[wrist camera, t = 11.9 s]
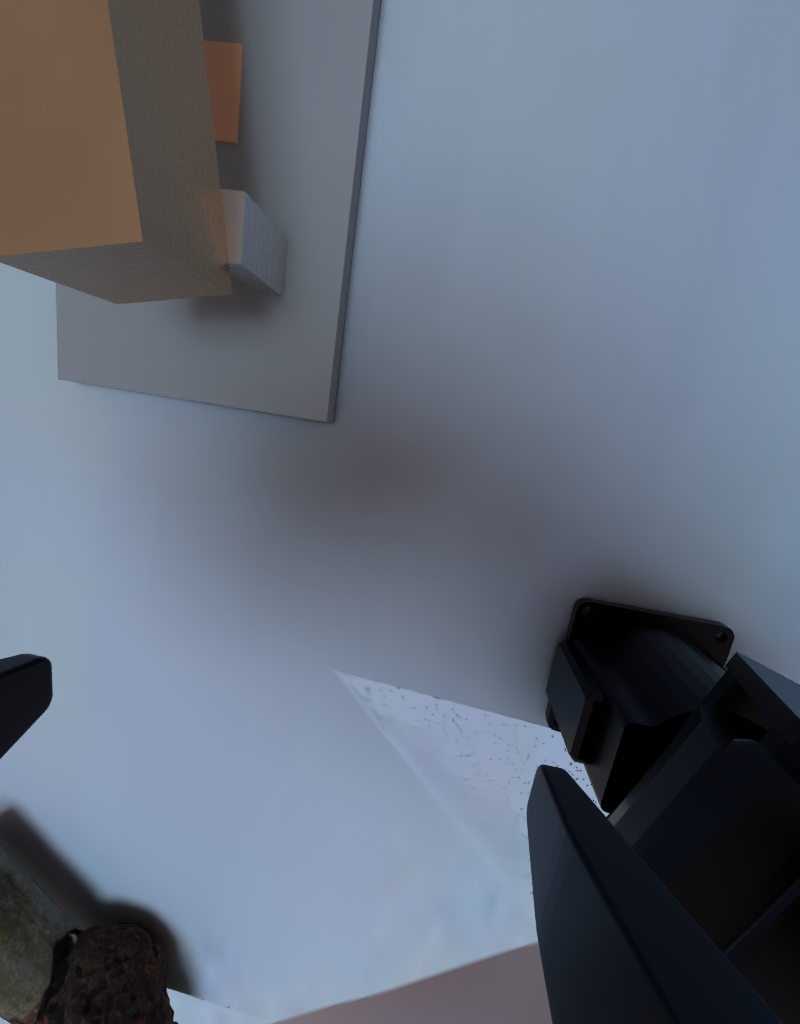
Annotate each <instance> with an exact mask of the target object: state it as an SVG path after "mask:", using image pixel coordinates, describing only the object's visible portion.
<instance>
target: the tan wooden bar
mask: <svg viewBox="0 0 800 1024" xmlns="http://www.w3.org/2000/svg"><path fill="white" fill-rule="evenodd" d="M0 262H1V263H3V264H6V265H9V266H12V267H14V268H17V269H20V270H23V271H26V272H28V273H31V274H34V275H37V276H39V277H42V278H45V279H48V280H51V281H53V282H56V283H59V284H62V285H64V286H67V287H70V288H73V289H76V290H78V291H81V292H84V293H87V294H90V295H92V296H95V297H98V298H101V299H103V300H106V301H109V302H112V303H115V304H127V303H139V302H151V301H163V300H175V299H187V298H199V297H210V296H222V295H232V287H231V278H230V269H229V261H228V252H227V243H226V234H225V225H224V216H223V207H222V198H221V189H220V180H219V171H218V162H217V153H216V144H215V136H214V127H213V118H212V109H211V100H210V91H209V82H208V73H207V64H206V55H205V46H204V37H203V28H202V19H201V11H200V2H199V0H0Z"/></svg>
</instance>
